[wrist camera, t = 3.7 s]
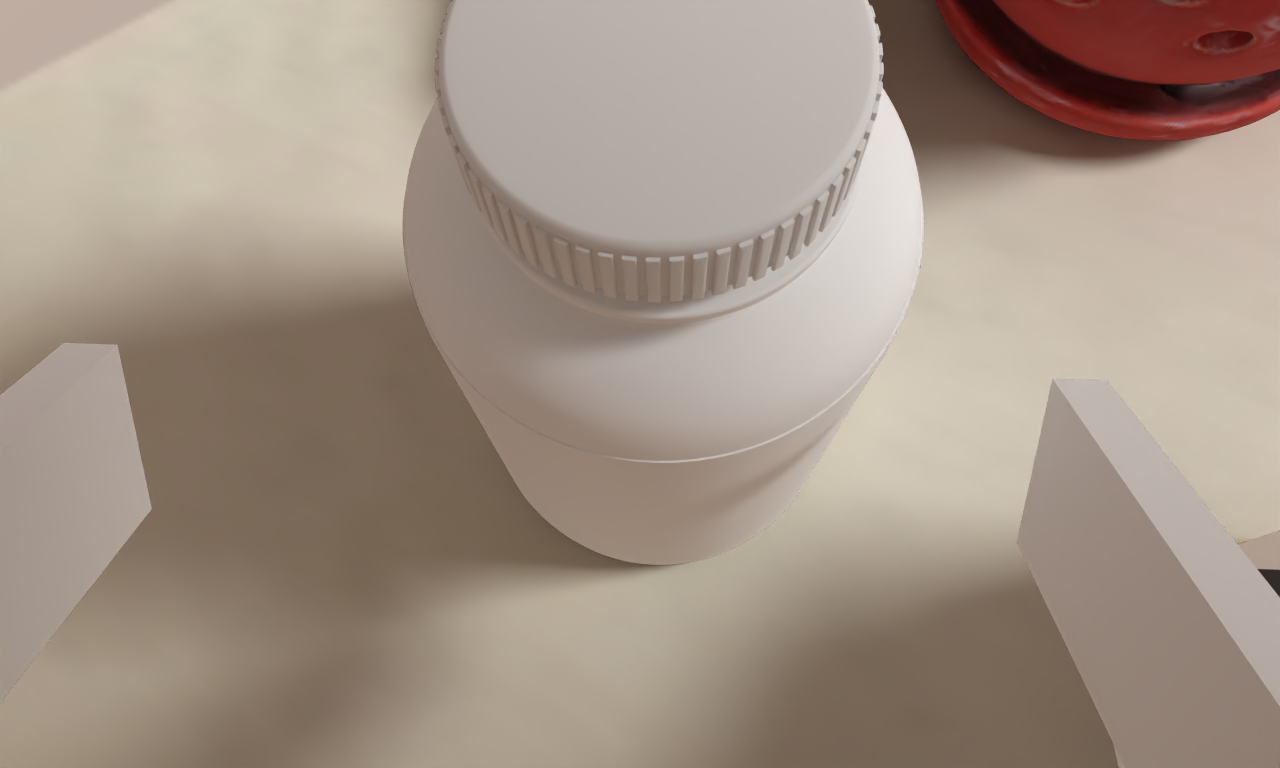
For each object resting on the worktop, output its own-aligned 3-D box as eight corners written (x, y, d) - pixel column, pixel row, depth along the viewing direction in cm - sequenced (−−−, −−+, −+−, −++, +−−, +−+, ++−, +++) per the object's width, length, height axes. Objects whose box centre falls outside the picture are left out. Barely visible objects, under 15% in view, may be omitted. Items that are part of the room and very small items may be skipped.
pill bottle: (433, 381, 27) (198, -13, 13) (689, 208, 29) (731, -320, 14) (621, 643, 25) (589, 520, 11) (886, 442, 27) (1163, 101, 12)
